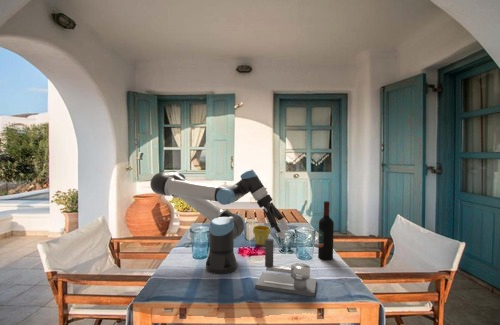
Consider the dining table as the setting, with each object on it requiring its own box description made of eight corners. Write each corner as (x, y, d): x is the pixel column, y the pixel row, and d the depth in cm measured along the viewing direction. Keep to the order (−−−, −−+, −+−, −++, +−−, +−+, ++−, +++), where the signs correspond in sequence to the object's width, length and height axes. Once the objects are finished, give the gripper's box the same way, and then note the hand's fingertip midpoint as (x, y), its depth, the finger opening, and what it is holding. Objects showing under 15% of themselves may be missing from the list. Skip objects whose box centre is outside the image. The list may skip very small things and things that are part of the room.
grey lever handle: (262, 277, 120) (262, 243, 119) (267, 267, 130) (268, 236, 129) (308, 283, 114) (309, 248, 114) (310, 272, 125) (311, 240, 124)
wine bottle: (330, 261, 152) (331, 203, 150) (316, 258, 156) (317, 202, 154) (334, 257, 158) (335, 201, 157) (320, 254, 162) (322, 200, 161)
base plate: (255, 288, 123) (255, 275, 122) (262, 275, 135) (262, 263, 135) (314, 296, 116) (314, 282, 116) (316, 282, 128) (316, 269, 128)
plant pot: (273, 242, 181) (273, 226, 181) (264, 247, 173) (264, 230, 172) (258, 239, 187) (258, 224, 186) (249, 244, 178) (249, 228, 178)
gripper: (262, 197, 136) (288, 236, 134) (273, 190, 160) (295, 224, 158) (249, 205, 138) (274, 245, 136) (261, 197, 162) (283, 231, 160)
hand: (285, 234), depth 147 cm, fingers open, 13 cm apart
